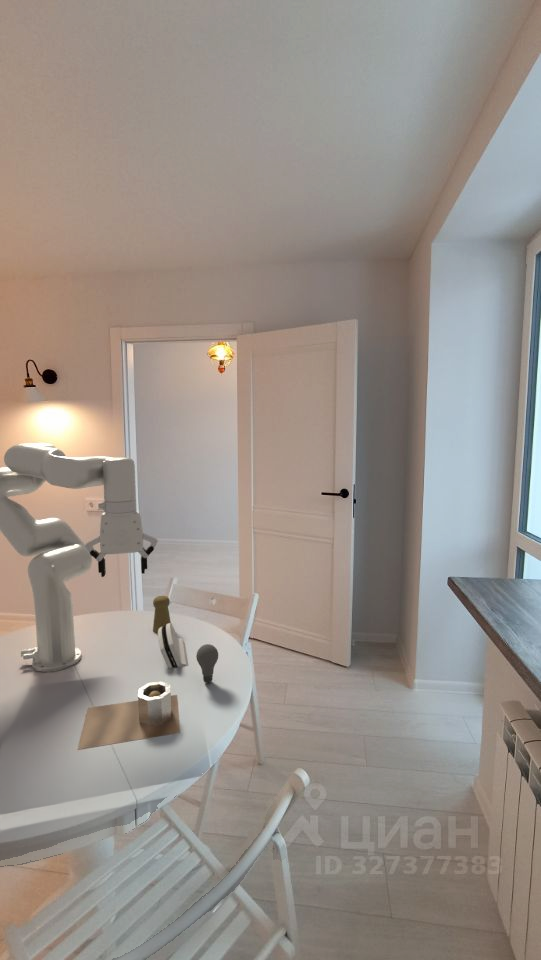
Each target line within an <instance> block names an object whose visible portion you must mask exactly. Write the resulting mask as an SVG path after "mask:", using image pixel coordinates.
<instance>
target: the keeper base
mask: <svg viewBox="0 0 541 960" xmlns="http://www.w3.org/2000/svg"><path fill="white" fill-rule="evenodd" d="M160 695H161V694H160V692H158V691H152V692H151V693H150V694H149V697H156V696H160ZM180 733H181V728H180V713H179V700H178V694H174V695H171V718H170V719H169V720H167V721H166V722H165V723H164V724H162V725H157V726H151V727H148V726H146V725H143V724H141V723H139V706H138V700H133V701H127V702H118V703H111V704H105V705H99V706H92V707H87V710H86V714H85V718H84V723H83V726H82V730H81V733H80V734H81V735H80V738H79V742H78V746H77V751H78V750H85V749H90V748H91V749H92V748H98V747H103V746H110V745H115V744H122V743H127V742H132V741H138V740H145V739H146V740H147V739H151V738H157V737H164V736H168V735H175V734H180Z"/></svg>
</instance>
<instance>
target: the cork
mask: <svg viewBox="0 0 541 960" xmlns="http://www.w3.org/2000/svg"><path fill="white" fill-rule="evenodd" d="M170 602H171V601H170V598H169V596H167V595H158V596H156V597H155V598H154V599H153V600H152V603H153V605H152V606H153V608H154V615H153V616H154V617H153V627H152V633H154V634H157V635H158V629H159V628H160V627H162V626H166V624H169V623H172V621H171V615H170V611H169V606H170Z"/></svg>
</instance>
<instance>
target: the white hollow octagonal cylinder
mask: <svg viewBox="0 0 541 960" xmlns="http://www.w3.org/2000/svg"><path fill="white" fill-rule="evenodd" d="M137 691H138V693H137V699H138V700H137V701H138V706H139V723H141V724H143V725H146V726H148V727H151V726H157V725H162V724H164V723H165V722H166V721H167V720H169V719H170V718H171V696H172V695H171V684H169V683H167V682H164V681H153V682H148V683H146V684H144V685H143V686H141V687H139V688H138V690H137ZM152 691H158V692H160V694H161V695H160V696H156V697H149V694H150V693H151V692H152Z"/></svg>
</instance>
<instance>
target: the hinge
mask: <svg viewBox="0 0 541 960" xmlns="http://www.w3.org/2000/svg"><path fill="white" fill-rule="evenodd" d="M157 639H158V644H159V649H160V653H161V655H162V658H163V660H164V662H165V665H166V667H167V669H175V668H182V667H189V662H188V657H187V656H188V655H187V650H186V643H185V641H184V639H183V638H182V637H178V635H177V632H176V630H175V627H174V626H173V623H172V622H171V623H169V624H166V626H162V627H160V628H159V629H158V634H157Z"/></svg>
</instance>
